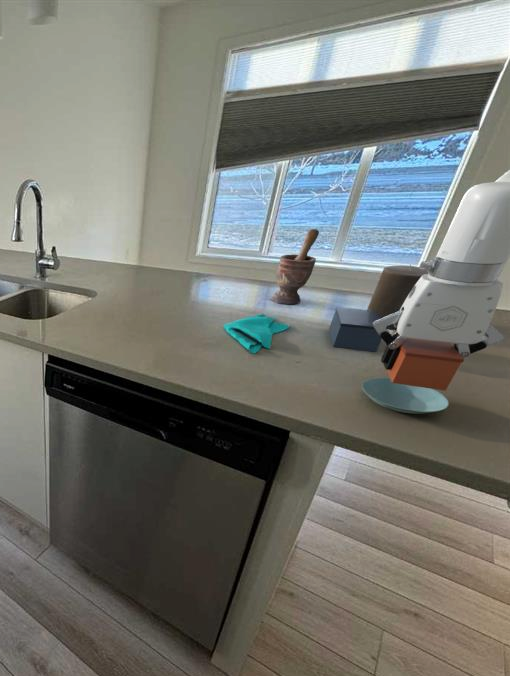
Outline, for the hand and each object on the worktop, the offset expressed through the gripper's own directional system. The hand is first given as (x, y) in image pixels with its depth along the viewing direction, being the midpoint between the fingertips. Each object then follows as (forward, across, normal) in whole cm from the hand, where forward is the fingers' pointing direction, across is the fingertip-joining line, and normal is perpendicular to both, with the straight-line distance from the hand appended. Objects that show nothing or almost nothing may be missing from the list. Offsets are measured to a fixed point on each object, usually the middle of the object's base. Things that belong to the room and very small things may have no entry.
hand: (414, 369), depth 72 cm
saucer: (+7, 0, 0) cm, 7 cm away
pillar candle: (+7, +5, +44) cm, 45 cm away
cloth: (+8, -25, +27) cm, 38 cm away
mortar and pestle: (+7, -17, +57) cm, 60 cm away
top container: (+1, 0, 0) cm, 1 cm away
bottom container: (+7, -4, +29) cm, 30 cm away
